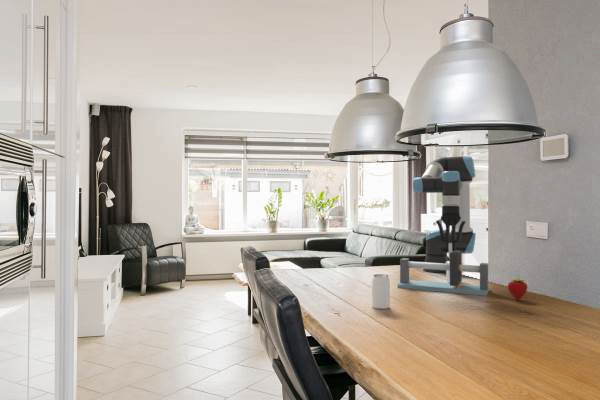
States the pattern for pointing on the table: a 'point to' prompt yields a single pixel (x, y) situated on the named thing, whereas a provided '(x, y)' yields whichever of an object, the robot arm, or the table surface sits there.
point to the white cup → (449, 272)
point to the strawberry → (517, 288)
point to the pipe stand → (443, 287)
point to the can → (380, 291)
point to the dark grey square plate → (455, 268)
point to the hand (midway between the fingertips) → (450, 257)
